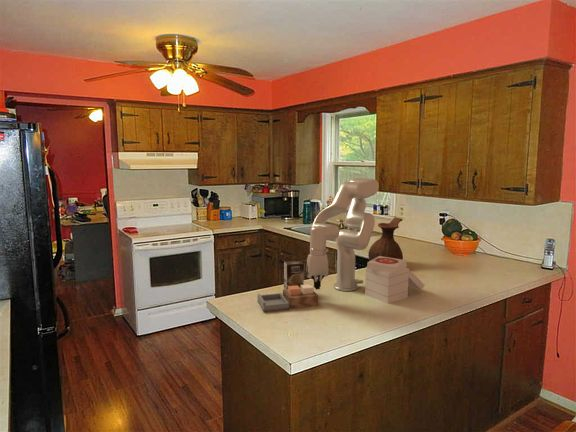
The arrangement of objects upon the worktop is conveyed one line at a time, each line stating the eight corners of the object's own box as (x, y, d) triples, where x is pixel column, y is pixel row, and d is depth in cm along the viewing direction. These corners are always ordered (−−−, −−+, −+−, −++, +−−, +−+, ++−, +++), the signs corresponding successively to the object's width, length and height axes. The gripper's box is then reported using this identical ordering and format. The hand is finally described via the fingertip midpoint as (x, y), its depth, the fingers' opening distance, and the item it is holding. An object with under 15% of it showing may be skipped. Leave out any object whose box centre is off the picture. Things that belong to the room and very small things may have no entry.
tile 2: (310, 289, 202) (310, 284, 201) (313, 293, 197) (313, 287, 196) (300, 290, 200) (300, 285, 200) (303, 294, 195) (303, 288, 195)
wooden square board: (309, 296, 206) (309, 287, 205) (317, 305, 195) (317, 295, 194) (282, 299, 202) (282, 289, 201) (289, 308, 191) (289, 298, 190)
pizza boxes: (427, 293, 212) (429, 259, 209) (387, 305, 195) (389, 268, 192) (398, 283, 227) (399, 251, 224) (358, 293, 210) (359, 259, 207)
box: (281, 298, 203) (281, 291, 202) (289, 309, 190) (289, 301, 189) (257, 301, 200) (257, 293, 199) (263, 312, 187) (263, 303, 186)
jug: (407, 271, 250) (409, 222, 245) (371, 270, 250) (373, 222, 245) (398, 261, 271) (400, 216, 266) (365, 261, 272) (367, 216, 267)
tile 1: (297, 290, 200) (297, 285, 199) (300, 294, 195) (300, 288, 195) (287, 291, 198) (287, 286, 198) (290, 295, 194) (290, 289, 193)
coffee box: (286, 295, 208) (286, 264, 205) (283, 291, 214) (283, 261, 211) (303, 293, 210) (304, 263, 207) (300, 289, 216) (300, 260, 214)
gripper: (329, 249, 202) (328, 284, 205) (300, 251, 198) (300, 287, 201) (335, 252, 195) (334, 289, 198) (305, 254, 191) (305, 292, 194)
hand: (317, 288), depth 200 cm, fingers closed
